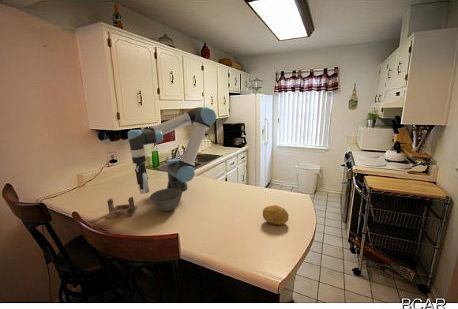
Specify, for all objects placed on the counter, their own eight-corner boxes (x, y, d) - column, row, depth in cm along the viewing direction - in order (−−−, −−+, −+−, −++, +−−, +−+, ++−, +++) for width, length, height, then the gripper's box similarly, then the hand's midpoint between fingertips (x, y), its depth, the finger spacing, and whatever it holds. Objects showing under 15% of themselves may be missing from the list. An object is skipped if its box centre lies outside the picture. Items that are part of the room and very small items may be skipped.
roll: (150, 189, 139) (147, 171, 136) (148, 193, 133) (145, 174, 130) (141, 190, 138) (138, 172, 135) (138, 194, 133) (135, 175, 130)
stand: (137, 207, 137) (135, 193, 135) (131, 216, 125) (129, 202, 123) (114, 209, 136) (112, 195, 134) (106, 218, 124) (103, 204, 122)
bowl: (150, 206, 137) (148, 191, 135) (180, 200, 144) (179, 186, 142) (153, 220, 120) (150, 203, 118) (186, 212, 127) (185, 197, 125)
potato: (286, 213, 104) (289, 203, 112) (259, 210, 110) (264, 200, 118) (287, 230, 107) (290, 219, 115) (261, 226, 112) (265, 215, 120)
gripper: (136, 152, 138) (142, 186, 144) (126, 160, 120) (133, 198, 126) (148, 151, 139) (154, 185, 145) (140, 159, 121) (147, 197, 127)
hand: (144, 191), depth 136 cm, fingers closed on roll, 5 cm apart
